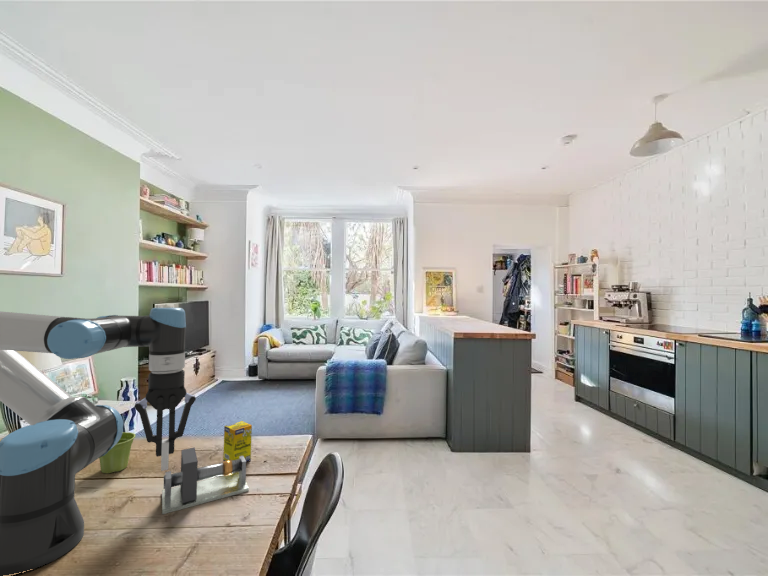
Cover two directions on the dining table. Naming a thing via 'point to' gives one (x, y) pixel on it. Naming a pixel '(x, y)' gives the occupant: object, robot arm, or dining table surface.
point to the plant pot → (117, 454)
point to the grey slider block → (189, 475)
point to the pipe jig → (206, 484)
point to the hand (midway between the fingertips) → (164, 467)
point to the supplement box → (237, 441)
